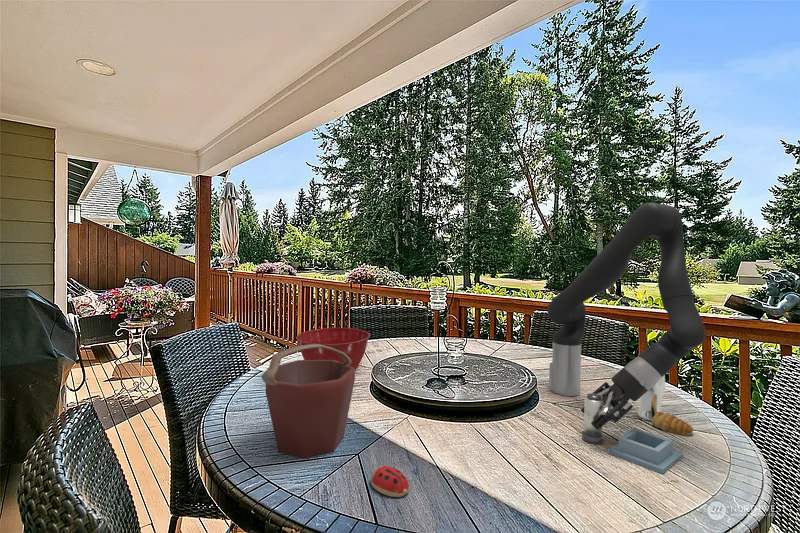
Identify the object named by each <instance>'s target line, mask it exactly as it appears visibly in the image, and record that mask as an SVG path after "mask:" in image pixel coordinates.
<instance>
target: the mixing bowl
mask: <svg viewBox="0 0 800 533" xmlns="http://www.w3.org/2000/svg"><path fill="white" fill-rule="evenodd" d="M370 336H371V334H370V333H369V332H368V331H365V330H363V329H357V328H351V327H323V328H315V329H310V330H307V331H303V332H300V333H299V334H297V335H296V337H295V338H296V340H297V342H298V346H302V345H309V344H320V345H324V346H327V347H331V348H334V349H336V350H339V351H341V352H344V353H345V354H346V355H347V356H348V357H349V358H350V359H351V364H350V366H351V367H354V368H355V371H356V370H357V369H358V368H359V365H360V363H361V362H362V360H363V357H364V355H365V353H366V350H367V346H368V341H369V338H370ZM300 353H301V355H302V358H303V360H336V361H338V362H341V363H343V362H344V359H343V358H342V357H341V356H340V355H339V354H338V353H337V352H334V351H331V350H328V349H324V348H311V349H305V350H302V351H300Z"/></svg>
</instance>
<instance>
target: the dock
mask: <svg viewBox="0 0 800 533" xmlns="http://www.w3.org/2000/svg"><path fill="white" fill-rule="evenodd" d="M673 449H674V440H672V439H668V438H666V437H663V436H659V435H657V434H653V433H650V432H647V431H643V430H641V429H638V428H633V429H631V430H629V431H627V432H626V433H624V434H623V435H621V436H619V437H618V443H616V444H615V445H613V446H612V447H610V448H609V449H608V452H607V454H609V455H611V456H614V457H616V458H620V459H622V460H625V461H628V462H630V463H632V464H635V465H638V466H640V467H643V468H646V469H648V470H651V471H653V472H656V473H657V474H661V475H664V474H665V473H666V472H667V471H669V470H670V468H672V467H673V466H674V465H675V464H677V463H678V462H679V461H680V460H681V459H683V456H684V455H683V453H682V452H679V451H676V450H673Z"/></svg>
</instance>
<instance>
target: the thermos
mask: <svg viewBox="0 0 800 533" xmlns="http://www.w3.org/2000/svg"><path fill="white" fill-rule="evenodd" d="M592 393H593V392H591V393H587V394H586V395H585V396H584V405H583V407H584V413H583V431H582V432H581V440H582V441H584V442H585V443H587V444H591V445H598V446H599V445H602V444H604V441H605V440H604V439H605V435H604V434H603V426H602V427H601V428H600V429H599V430H597V429H596V428H595V427H594V426H593V425H592V424H591V422H592V421H593V420H594V419H596V418H597V417H598V416H599V415H600V414H601V413H602V414H603V411H604V405H603V399H602V398H601V396H600V395H598V394H592Z"/></svg>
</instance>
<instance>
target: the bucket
mask: <svg viewBox="0 0 800 533" xmlns="http://www.w3.org/2000/svg"><path fill="white" fill-rule="evenodd" d="M311 348H324V349H328V350H331V351H334V352H337V353H338V354H339V355H340V356H341V357H342V358H343V359H344V362H343V363H341V362H338V361H336V360H304V359H298V360H294V361H289V362H286V363H282V364H281V361H282V359H284V358H286V357H288V356H290V355H292V354H295V353H298V352H301V351H302V350H305V349H311ZM270 359H271V360H270V361H269V362H270V363H269V366H268V368H267V369H266V370H265V371H264V372H263V374H262V375H261V379H262V380H263V382H264V384H265V395H266V402H267V405H268V411H269V415H270V419H271V424H272V429H273V434H274V438H275V443H276V447H277V453H278V454H281V455H287V456H291V457H295V458H298V459H302V460H303V459H304V460H305V459H308V458H309V459H310V458H312V457H317V456H322V455H326V454H330V453H334V452H335V451H336V450H337V448H338V447H339V445H340V443H341V442H342V441H343V439H344V438H345V432H346V426H347V422H348V416H349V410H350V408H351V401H352V395H353V392H354V385H355V381H356V380H355V378H356V377H355V374H356V370H355V368H354V367H351V366H350V364H351V359H350V358H349V357H348V356H347V355H346V354H345V353H344V352H341V351H339V350H336V349H334V348H331V347H327V346H324V345H320V344H309V345H302V346H299V345H297V346H293V347H289V348H287V349H284V350H283V349H282V350H281V351H278V352H277V353H275V354H273V355H272V356H271V358H270Z"/></svg>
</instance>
